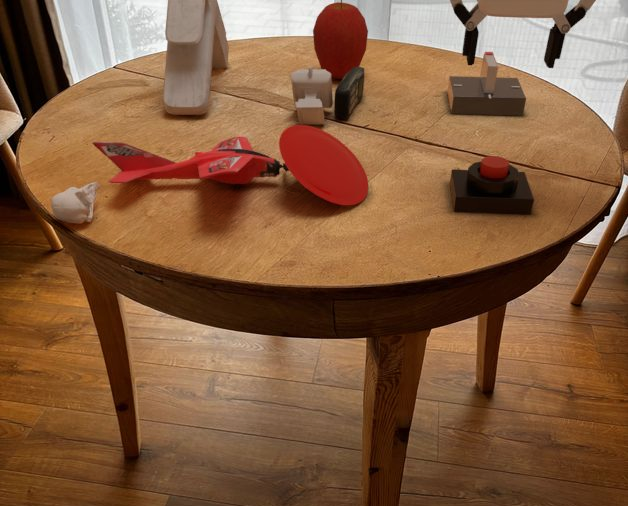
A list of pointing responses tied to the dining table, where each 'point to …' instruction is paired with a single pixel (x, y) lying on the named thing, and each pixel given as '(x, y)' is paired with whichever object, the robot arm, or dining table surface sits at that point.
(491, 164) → the button
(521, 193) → the button block
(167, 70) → the leaning slabs
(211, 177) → the toy airplane
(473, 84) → the base
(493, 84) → the tap handle
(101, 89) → the dining table surface
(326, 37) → the apple
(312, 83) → the white blocky device
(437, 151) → the dining table surface
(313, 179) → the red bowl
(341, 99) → the mobile phone
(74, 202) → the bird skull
